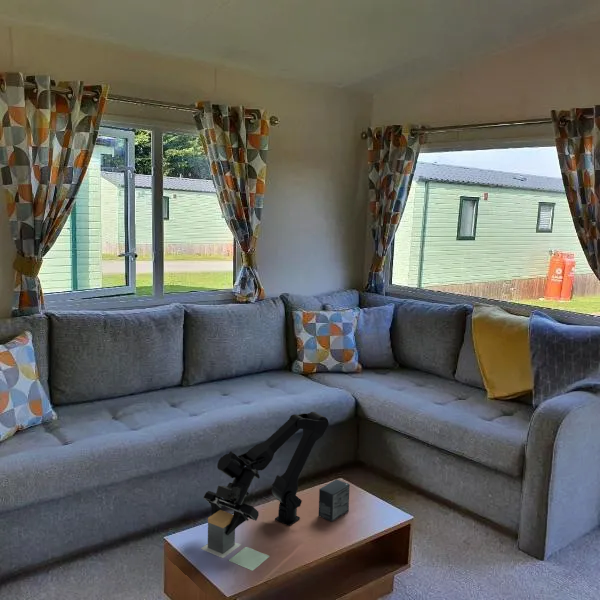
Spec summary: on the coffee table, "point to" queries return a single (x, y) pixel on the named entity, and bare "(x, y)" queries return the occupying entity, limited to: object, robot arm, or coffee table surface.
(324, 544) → the coffee table surface
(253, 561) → the stand
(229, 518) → the cover
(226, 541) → the base
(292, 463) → the robot arm
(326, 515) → the small box
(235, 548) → the stand
